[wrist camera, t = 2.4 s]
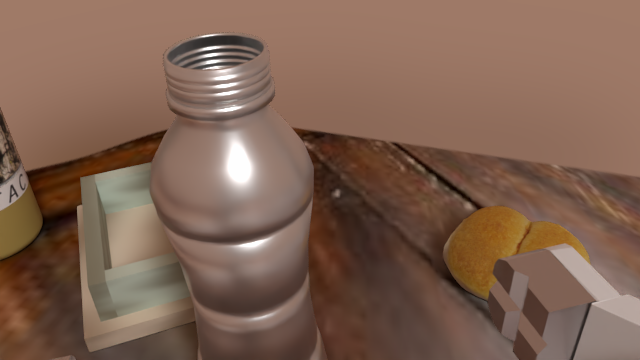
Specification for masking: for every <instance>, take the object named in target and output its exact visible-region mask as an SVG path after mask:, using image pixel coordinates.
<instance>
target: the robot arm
mask: <svg viewBox="0 0 640 360" xmlns="http://www.w3.org/2000/svg"><path fill="white" fill-rule="evenodd" d="M492 274H493V275H494V276H495V278H496V279H497V281H496V283H495V284H494V285H493V286H492V287H491V288H490V290H489V296H488V306H489V311H490V315H491V318H492V320H493V322H494V324H495V326H496V327H497V329H498V330H499V332H500V333H501V334H502V335H503V336H505V337H507V338H509V339H511V340H513V341H514V345H513V352H514V353H515V355H516V356H517V358H518V359H519V360H640V299H638V298H635V297H633V296H631V295H628V294H627V295H622V296H621V295H620V294H619V293H618V292H617V291H616V290H615V289H614V288H613V287H612V286H611V285H610V284H609V283H608V282H607V281H606V280H605V279H604V278H603V277H602V276H601V275H600V274H599V273H598V272H597V271H596V270H595V269H594V268H593V267H592V266H591V265H590V264H589V263H588V262H587V261H586V260H585V259H584V258H583V257H582V256H581V255H580V254H579V253H578V252H577V251H576V250H575V249H574V248H573V247H572V246H570V245H568V244H565V243H564V244H560V245H555V246H551V247H547V248H543V249H538V250H533V251H529V252H525V253H521V254H517V255H512V256H508V257H504V258H500V259H498V260H497V261H496V263H495V264H494V268H493V273H492ZM50 360H76V358H75V356H71V355H70V356H65V357H60V358H55V359H50Z"/></svg>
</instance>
